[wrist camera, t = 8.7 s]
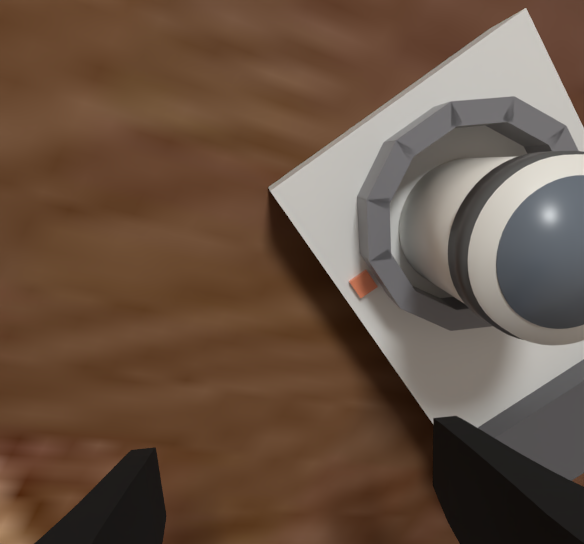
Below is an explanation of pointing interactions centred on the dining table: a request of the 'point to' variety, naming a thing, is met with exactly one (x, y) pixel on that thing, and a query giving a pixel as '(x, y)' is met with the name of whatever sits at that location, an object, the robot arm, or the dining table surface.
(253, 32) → the dining table surface
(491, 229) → the lens
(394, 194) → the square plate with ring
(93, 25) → the dining table surface
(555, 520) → the robot arm
